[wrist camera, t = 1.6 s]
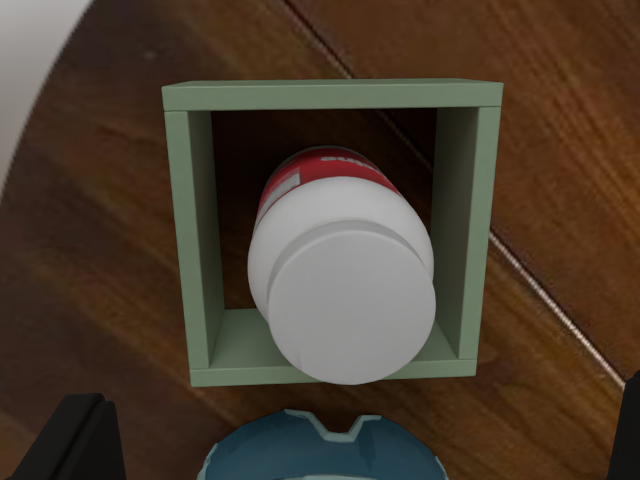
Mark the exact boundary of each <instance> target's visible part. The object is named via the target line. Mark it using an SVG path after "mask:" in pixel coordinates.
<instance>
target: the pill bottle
mask: <svg viewBox="0 0 640 480" xmlns="http://www.w3.org/2000/svg"><path fill="white" fill-rule="evenodd" d="M433 273H434V258H433V250H432V246H431V241H430V238H429V236H428V233H427V231H426V228H425V227H424V225H423V223H422V221H421V220H420V218H419V216H418V215H417V213H416V212H415V211H414V209H413V208H412V207H411V206H410V204H409V203H408V202H407V201H406V200H405V198H404V197H403V196H402V195H401V194H400V193H399V191H398V190H397V189H396V188H395V187H394V186H393V184H392V183H391V182H390V181H389V180H388V179H387V177H386V176H385V175H384V174H383V173H382V172H381V171H380V169H379V168H378V167H377V166H376V165H375V164H374V163H372V162H371V161H370V160H369V159H367V158H366V157H365V156H363V155H361V154H359V153H357V152H355V151H353V150H351V149H348V148H344V147H340V146H332V145H323V146H315V147H310V148H307V149H304V150H301V151H299V152H297V153H295V154H293V155H292V156H290V157H289V158H287V159H286V160H284V161H283V162H282V163H281V164H280V165H279V166H278V167H277V168H276V169H275V170H274V172H273V173H272V175H271V176H270V178H269V179H268V181H267V183H266V185H265V188H264V190H263V193H262V196H261V199H260V204H259V208H258V213H257V218H256V222H255V227H254V231H253V235H252V240H251V244H250V248H249V254H248V280H249V286H250V290H251V293H252V297H253V299H254V301H255V304H256V306H257V308H258V310H259V311H260V313H261V314H262V316H263V317H264V319H265V320H266V321H267V323H268V324H269V328H270V331H271V334H272V337H273V339H274V342H275V343H276V345H277V347H278V348H279V350H280V352H281V353H282V354H283V355H284V357H285V358H286V359H287V360H288V361H289V362H290V363H291V364H292V365H293V366H295V367H296V368H297V369H298V370H300V371H302V372H303V373H305V374H307V375H309V376H311V377H313V378H315V379H318V380H321V381H325V382H329V383H335V384H344V385H356V384H363V383H368V382H373V381H376V380H380V379H382V378H385V377H387V376H389V375H391V374H393V373H395V372H397V371H398V370H400V369H401V368H402V367H404V366H405V365H406V364H408V363H409V362H410V361H411V360H412V359H413V358H414V357H415V356H416V355H417V354H418V352H419V351H420V350H421V348H422V347H423V345H424V344H425V342H426V340H427V338H428V336H429V334H430V331H431V329H432V326H433V322H434V317H435V311H436V299H435V291H434V287H433V284H432V281H433Z"/></svg>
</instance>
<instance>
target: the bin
mask: <svg viewBox="0 0 640 480" xmlns="http://www.w3.org/2000/svg"><path fill="white" fill-rule="evenodd" d="M502 94H503V83H500V82H490V81H480V80H469V79H459V78H420V79H329V80H238V81H189V82H184V83H179V84H174V85H169V86H164V87H162V97H163V107H164V111H166V112H165V113H164V116H165V126H166V136H167V146H168V156H169V167H170V177H171V187H172V197H173V207H174V217H175V227H176V238H177V248H178V258H179V268H180V278H181V288H182V298H183V309H184V319H185V329H186V339H187V349H188V359H189V368H190V380H191V386H192V387H206V386H231V385H257V384H282V383H308V382H325V381H321V380H318V379H315V378H313V377H311V376H309V375H307V374H305V373H303V372H302V371H300V370H298V369H297V368H296V367H295V366H293V365H292V364H291V363H290V362H289V361H288V360H287V359H286V358H285V357H284V355H283V354H282V353H281V352H280V350H279V348H278V347H277V345H276V343H275V342H274V339H273V337H272V334H271V331H270V328H269V324H268V323H267V321H266V320H265V319H264V317H263V316H262V314H261V313H260V311H259V310H258V308H254V309H225V304H224V290H223V276H222V262H221V248H220V234H219V220H218V206H217V192H216V178H215V164H214V150H213V136H212V122H211V111H220V110H293V109H365V108H437V120H436V137H435V154H434V171H433V188H432V205H431V222H430V241H431V246H432V250H433V258H434V273H433V281H432V284H433V287H434V291H435V299H436V311H435V317H434V322H433V326H432V329H431V331H430V334H429V336H428V338H427V340H426V342H425V344H424V345H423V347H422V348H421V350H420V351H419V352H418V354H417V355H416V356H415V357H414V358H413V359H412V360H411V361H410V362H409V363H408V364H406V365H405V366H404V367H402V368H401V369H400V370H398V371H397V372H395V373H393V374H391V375H389V376H387V377H385V378H382V379H380V380H384V379H410V378H435V377H461V376H475V374H476V364H477V353H478V343H479V332H480V322H481V312H482V301H483V291H484V280H485V270H486V259H487V249H488V238H489V228H490V218H491V207H492V197H493V186H494V176H495V165H496V155H497V145H498V134H499V124H500V113H501V107H500V106H501V104H502Z"/></svg>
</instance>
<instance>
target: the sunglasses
mask: <svg viewBox="0 0 640 480" xmlns="http://www.w3.org/2000/svg"><path fill="white" fill-rule="evenodd" d="M197 480H448V478H447V475H446V471H445V469H444V468H443V466H442V464H441V463H440V461H439V459H438V458H437V456H434V455H433V453H432V452H431V451H430V449H429V448H428V447H427V446H425V445H424V444H423V443H422V442H420V441H419V440H418V439H417V438H415V437H414V436H413V435H412V434H410V433H409V432H408V431H407V430H405V429H404V428H403V427H402V426H400V425H399V424H396V423H394V422H392V421H390V420H388V419H385V418H383V417H381V415H361V416H358V418H357V419H356V421H355V422H354V423H353V425H352V427H351V428H350V430H349V431H348V433H335V432H329V431H328V430H327V429H326V428H325V427H324V426H323V424H322V423H321V422H320V421H319V420H318V419H317V417H316V416H315V415H314V414H313V413H312V412H306V411H298V410H290V409H284V410H282V411H279V412H276V413H274V414H271V415H268V416H266V417H263V418H260V419H258V420H255V421H253V422H250V423H247V424H245V425H243V426H241V427H240V428H238V429H237V430H236V431H234V432H233V433H231V434H230V435H229V436H227V437H226V438H225V439H223V440H222V441H220V442H219V443H218V444H217V443H215V445H214V446H213V448H212V450H211V451H210V453H209V455H208V456H207V458H206V460H205V462H204V466H203V469H202V470H201V471H200V473H199V474H198V476H197Z"/></svg>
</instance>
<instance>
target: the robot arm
mask: <svg viewBox="0 0 640 480" xmlns="http://www.w3.org/2000/svg"><path fill="white" fill-rule="evenodd" d="M4 480H126V473H125V467H124V460H123V453H122V447H121V440H120V433H119V427H118V420H117V413H116V407H115V404H114V402H113V401H105V398H104V396H103V394H101V393H88V394H69V395H66V396H65V397H64V398H63V399H62V401H61V402H60V404H59V405H58V407H57V408H56V410H55V411H54V413H53V414H52V416H51V417H50V419H49V420H48V422H47V423H46V425H45V426H44V428H43V429H42V431H41V432H40V434H39V435H38V437H37V438H36V440H35V441H34V443H33V444H32V446H31V447H30V449H29V450H28V452H27V453H26V455H25V457H24V458H23V460H22V461H21V463H20V464H19V466H18V467H17V469H16V470H15V472H14V473H13V475H12V476H11V477H8V478H6V479H4ZM607 480H640V370H639V371H637V372H636V373H635V374H634V375H633V378H630V379H628V381H627V382H626V385H625V389H624V394H623V399H622V404H621V409H620V415H619V420H618V425H617V430H616V435H615V440H614V445H613V451H612V456H611V461H610V466H609V471H608V476H607Z"/></svg>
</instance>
